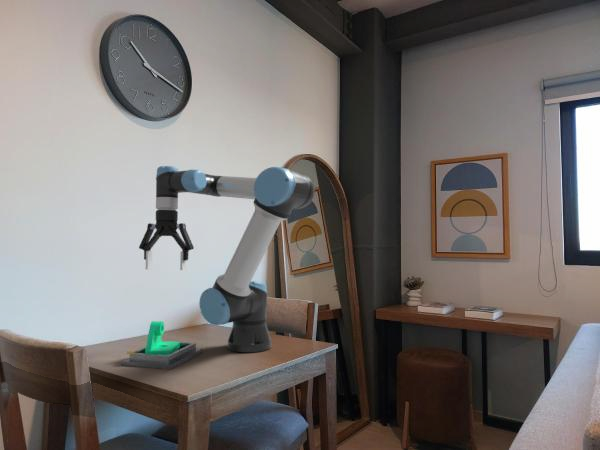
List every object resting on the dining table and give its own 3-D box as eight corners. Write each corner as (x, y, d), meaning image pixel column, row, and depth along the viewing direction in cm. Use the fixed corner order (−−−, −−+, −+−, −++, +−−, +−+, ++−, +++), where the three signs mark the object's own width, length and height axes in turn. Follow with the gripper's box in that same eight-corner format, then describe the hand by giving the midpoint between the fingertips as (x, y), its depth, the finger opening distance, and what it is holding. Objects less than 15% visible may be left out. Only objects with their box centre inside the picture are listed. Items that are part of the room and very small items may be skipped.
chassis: (202, 352, 142) (202, 340, 142) (170, 369, 123) (170, 355, 123) (159, 348, 146) (159, 337, 146) (121, 365, 127) (122, 352, 127)
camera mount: (170, 359, 129) (171, 325, 129) (145, 359, 128) (145, 325, 129) (180, 349, 141) (181, 318, 141) (157, 349, 140) (157, 318, 141)
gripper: (203, 210, 154) (202, 269, 153) (142, 211, 160) (140, 268, 159) (193, 208, 146) (192, 270, 146) (129, 209, 152) (128, 269, 151)
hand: (165, 269), depth 152 cm, fingers open, 13 cm apart
